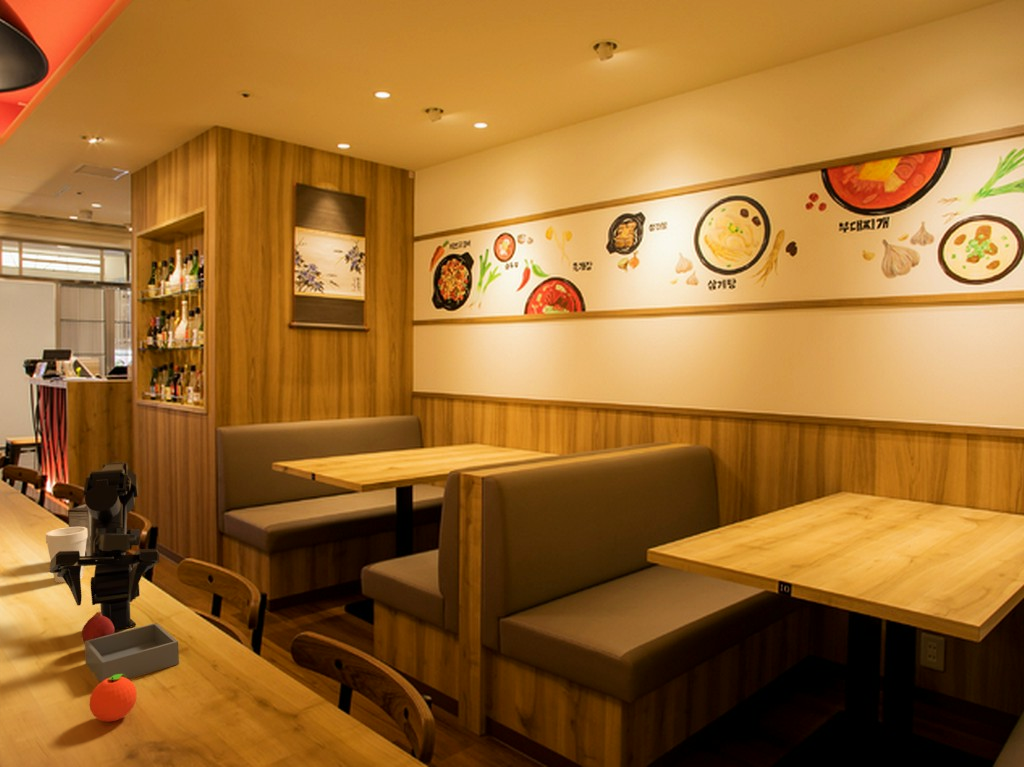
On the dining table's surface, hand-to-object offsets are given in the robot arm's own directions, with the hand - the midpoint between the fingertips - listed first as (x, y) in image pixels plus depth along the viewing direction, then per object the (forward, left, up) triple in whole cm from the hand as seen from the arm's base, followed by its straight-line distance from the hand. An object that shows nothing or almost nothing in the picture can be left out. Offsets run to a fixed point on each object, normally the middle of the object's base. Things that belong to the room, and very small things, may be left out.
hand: (105, 603), depth 142 cm
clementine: (+26, -5, -12) cm, 29 cm away
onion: (-6, 0, -12) cm, 13 cm away
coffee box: (-77, +14, -12) cm, 79 cm away
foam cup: (-62, +6, -12) cm, 64 cm away
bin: (+6, +3, -11) cm, 13 cm away
